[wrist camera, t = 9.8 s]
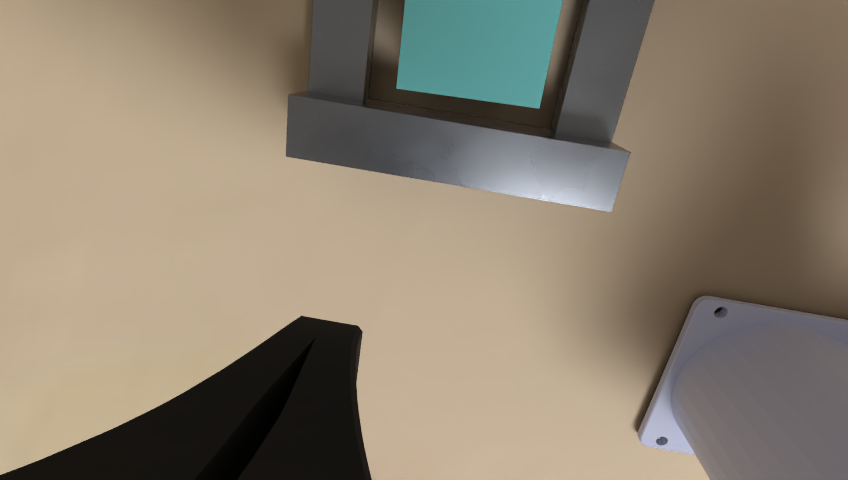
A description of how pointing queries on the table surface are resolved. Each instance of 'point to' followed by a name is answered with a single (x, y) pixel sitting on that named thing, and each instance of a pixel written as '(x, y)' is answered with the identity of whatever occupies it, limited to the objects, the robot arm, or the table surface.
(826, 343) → the robot arm
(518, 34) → the plug
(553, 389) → the table surface
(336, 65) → the port
